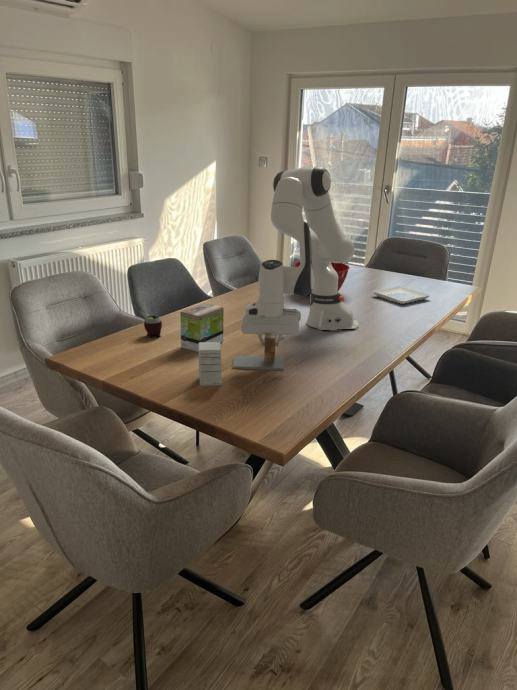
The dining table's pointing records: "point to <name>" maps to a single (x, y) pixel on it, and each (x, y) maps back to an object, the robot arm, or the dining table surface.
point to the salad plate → (401, 290)
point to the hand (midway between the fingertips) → (270, 345)
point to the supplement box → (210, 363)
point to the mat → (257, 363)
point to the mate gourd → (153, 324)
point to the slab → (269, 347)
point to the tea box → (201, 325)
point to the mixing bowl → (339, 268)
